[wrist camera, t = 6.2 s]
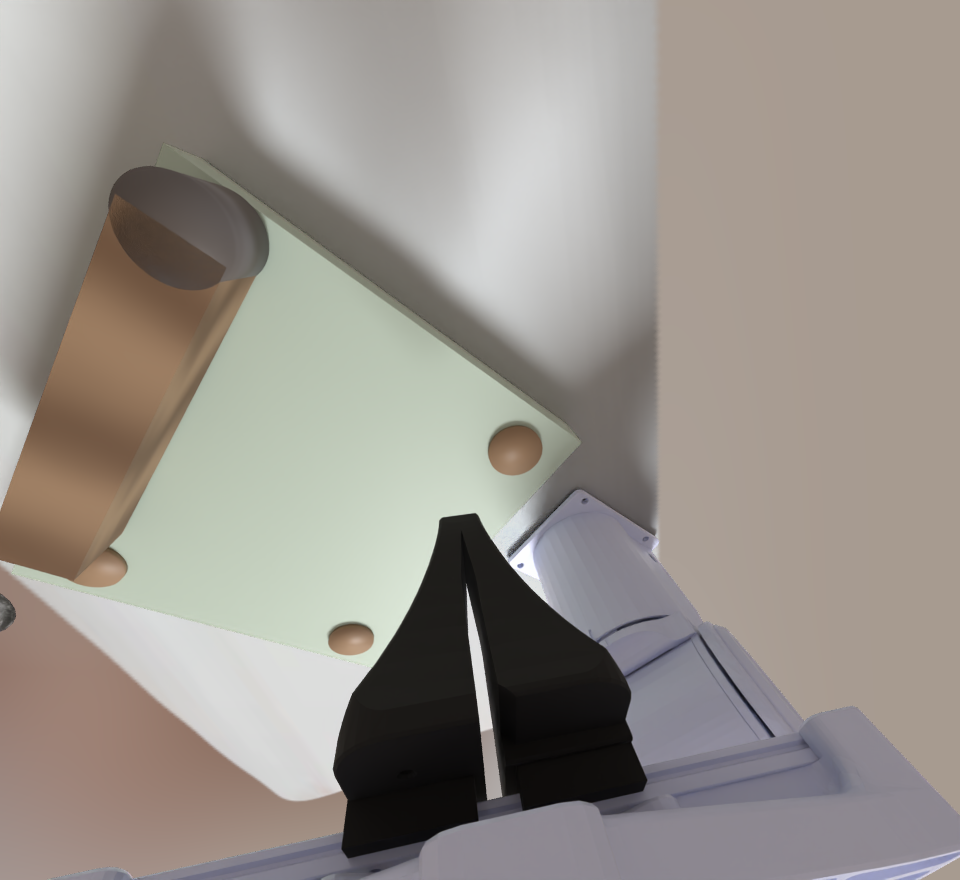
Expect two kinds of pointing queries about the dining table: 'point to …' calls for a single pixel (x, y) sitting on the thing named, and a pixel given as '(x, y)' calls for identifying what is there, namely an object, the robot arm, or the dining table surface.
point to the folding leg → (129, 363)
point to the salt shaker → (6, 613)
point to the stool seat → (321, 460)
